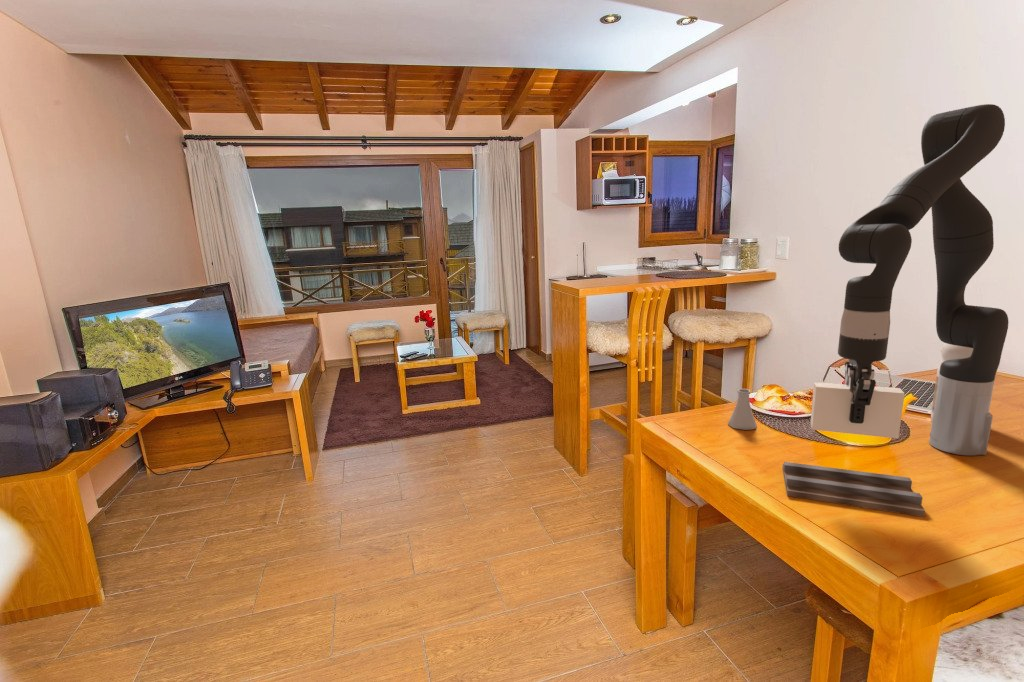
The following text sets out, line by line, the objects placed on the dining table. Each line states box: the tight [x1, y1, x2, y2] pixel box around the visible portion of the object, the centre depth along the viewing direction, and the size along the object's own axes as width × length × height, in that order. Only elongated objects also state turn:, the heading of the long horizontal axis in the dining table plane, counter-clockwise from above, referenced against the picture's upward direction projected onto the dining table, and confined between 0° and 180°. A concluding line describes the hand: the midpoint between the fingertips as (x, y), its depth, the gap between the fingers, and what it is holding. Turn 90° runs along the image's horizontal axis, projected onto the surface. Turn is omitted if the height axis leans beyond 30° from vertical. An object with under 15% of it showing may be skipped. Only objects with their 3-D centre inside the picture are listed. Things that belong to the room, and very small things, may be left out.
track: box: [782, 461, 926, 518], centre depth 99 cm, size 22×12×3 cm, turn 66°
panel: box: [809, 382, 905, 439], centre depth 96 cm, size 14×3×9 cm, turn 66°
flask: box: [727, 388, 757, 431], centre depth 132 cm, size 7×7×10 cm
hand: (854, 418), depth 96 cm, fingers closed on panel, 3 cm apart
